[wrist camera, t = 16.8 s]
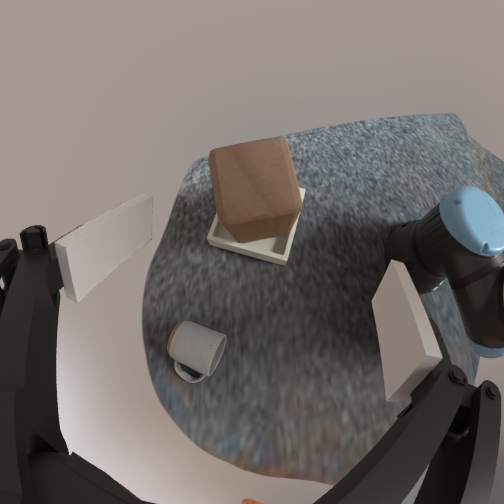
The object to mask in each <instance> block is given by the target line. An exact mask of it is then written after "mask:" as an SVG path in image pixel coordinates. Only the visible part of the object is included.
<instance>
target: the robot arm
mask: <svg viewBox="0 0 504 504" xmlns="http://www.w3.org/2000/svg"><path fill="white" fill-rule="evenodd" d="M152 208H153V195H149V194H144V193H141V194H139V195H137V196H135V197H133V198H131V199H129V200H127V201H125V202H123V203H121V204H119V205H118V206H116V207H114V208H112V209H110V210H108V211H107V212H105V213H103V214H101V215H99V216H98V217H96V218H94V219H92V220H90V221H89V222H87V223H85V224H83V225H80V226H79V227H77V228H75V229H74V230H73V231H71V232H69V233H67V234H65V235H64V236H62V237H60V238H59V239H57V240H56V241H54V242H53V243H51V244H50V245H48V240H47V233H46V228H45V227H44V226H41V225H35V226H30V227H28V228H26V229H24V230H23V231H22V232H21V233H20V238H21V243H22V248H23V250H19V249H18V248H17V243H16V240H14V239H4V240H2V241H1V242H0V278H1V277H2V279H3V282H4V285H5V286H4V288H3V289H2V288H1V286H0V504H155V503H150V502H146V501H142V500H140V499H139V498H138V497H136V496H135V495H134V494H132V493H131V492H130V491H129V490H127V489H126V488H125V487H124V486H122V485H121V484H119V483H118V482H117V481H115V480H114V479H113V478H112V477H110V476H109V475H108V474H106V473H105V472H104V471H102V470H101V469H99V468H97V467H96V466H94V465H92V464H91V463H89V462H87V461H86V460H85V459H83V458H82V457H80V456H78V455H77V454H76V453H74V452H72V454H71V455H69V452H68V448H67V445H66V442H65V440H64V438H63V436H62V433H61V430H60V425H59V416H58V403H57V387H56V386H57V384H56V347H57V327H58V314H59V305H60V293H59V290H60V289H61V288H62V287H63V286H64V289H65V293H66V296H67V298H69V299H71V300H73V301H75V302H77V303H78V302H79V301H81V300H82V299H83V298H84V297H85V296H86V295H87V294H88V293H89V292H90V291H91V290H93V289H94V288H95V287H96V286H97V285H98V284H99V283H100V282H102V281H103V280H104V279H105V278H106V277H107V276H108V275H110V274H111V273H112V272H113V271H114V270H115V269H116V268H118V267H119V266H120V265H121V264H122V263H124V262H125V261H126V260H127V259H128V258H130V257H131V256H132V255H133V254H134V253H136V251H138V250H139V249H140V248H142V247H143V246H144V245H145V244H147V243H148V242H149V241H150V240H152ZM385 260H386V265H387V270H386V273H385V275H384V277H383V279H382V281H381V283H380V285H379V287H378V289H377V291H376V293H375V295H374V297H373V299H372V301H371V302H372V307H373V312H374V317H375V322H376V328H377V334H378V340H379V346H380V353H381V359H382V367H383V375H384V383H385V393H386V401H388V402H397V403H402V402H403V401H404V400H405V399H406V398H407V397H408V396H409V395H410V394H411V400H412V402H411V403H410V404H409V405H408V406H407V407H406V408H405V409H404V410H403V411H402V412H401V413H400V414H399V415H398V416H397V417H398V419H397V420H396V422H395V423H394V424H393V425H392V427H391V428H390V429H389V430H388V431H387V433H386V434H385V435H384V436H383V437H382V438H381V440H380V441H379V442H378V443H377V444H376V445H375V446H374V447H373V449H372V450H371V451H370V452H369V453H368V454H367V455H366V456H365V457H364V458H363V459H362V460H361V461H360V462H359V463H358V464H357V465H356V466H355V467H354V468H353V469H352V470H351V471H350V472H349V473H348V474H347V475H346V476H345V477H344V478H343V479H342V480H341V481H339V482H338V483H337V484H336V485H335V486H334V487H333V488H332V489H330V490H329V491H328V492H327V493H326V494H325V495H323V496H322V497H321V498H320V499H318V500H317V501H316V502H315V503H313V504H401V503H402V502H403V500H404V499H405V498H406V496H407V495H408V494H409V492H410V491H411V489H412V488H413V487H414V485H415V484H416V483H417V481H418V480H419V478H420V477H421V475H422V474H423V472H424V471H425V469H426V468H427V466H428V464H429V463H430V464H429V467H428V470H427V472H426V475H425V478H424V480H423V483H422V485H421V488H420V490H419V493H418V495H417V497H416V499H415V502H414V504H488V502H489V498H490V494H491V489H492V485H493V480H494V475H495V469H496V463H497V456H498V448H499V438H500V425H501V423H500V422H501V394H500V392H499V389H498V387H497V386H496V385H495V384H494V383H493V382H491V381H488V380H486V381H484V382H483V383H482V384H481V385H480V386H479V387H478V388H477V387H475V386H473V385H470V384H468V380H467V376H466V375H465V373H464V372H463V370H462V369H461V368H459V367H458V366H456V365H453V364H452V363H451V361H450V358H449V355H448V352H447V349H446V346H445V344H444V343H443V342H444V341H443V338H442V337H441V333H440V331H439V328H438V326H437V325H436V324H435V322H434V321H433V320H432V318H428V316H427V314H426V312H425V309H424V307H423V304H422V302H421V300H420V297H419V295H423V294H426V293H429V292H432V291H434V290H435V289H437V288H438V287H439V286H440V285H441V284H442V282H443V281H444V279H445V278H447V279H448V281H449V284H450V286H451V289H452V291H453V294H454V297H455V300H456V302H457V305H458V308H459V311H460V314H461V317H462V320H463V323H464V327H465V330H466V335H467V337H468V339H469V340H470V343H471V346H472V348H473V350H474V352H475V353H476V354H478V355H479V356H481V357H485V358H497V357H502V356H504V215H503V213H502V211H501V209H500V208H499V206H498V205H497V203H496V202H495V201H494V200H493V199H492V198H491V197H490V196H489V195H488V194H487V193H486V192H484V191H481V190H480V189H479V188H477V187H474V186H462V187H459V188H457V189H456V190H455V191H453V192H452V193H451V194H448V195H446V196H445V197H444V198H443V200H442V201H441V202H440V203H439V204H438V205H437V206H436V207H434V208H433V209H432V210H431V211H430V212H429V213H428V214H426V215H425V216H424V217H423V218H422V219H420V220H414V221H409V222H406V223H403V224H402V225H400V226H399V227H398V228H396V229H395V230H394V231H393V232H392V233H391V235H390V236H389V238H388V241H387V243H386V248H385ZM467 432H468V433H467Z"/></svg>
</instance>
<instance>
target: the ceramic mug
mask: <svg viewBox="0 0 504 504" xmlns="http://www.w3.org/2000/svg"><path fill="white" fill-rule="evenodd" d="M226 340H227V337H226V335H225V334H222V333H219V332H217V331H214V330H211V329H209V328H206V327H204V326H201V325H199V324H196V323H194V322H191V321H186V320H184V321H181V322H179V323H178V324H177V325H176V326H175V328H174V329H173V331H172V333H171V335H170V337H169V341H168V345H167V351H168V354H169V355H170V356H171V357H172V358H173V359H175V364H174V365H175V370H176V372H177V373H178V375H179V376H180V377H181V378H183V379H184V380H186V381H188V382H191V383H197V382H199V381H201V380H202V379H203V378H204V377H205V376H210V375H211V374H212V373H213V372H214V370H215V369H216V367H217V365H218V363H219V360H220V358H221V356H222V353H223V351H224V348H225V345H226ZM180 363H182V364H184V365H186V366H188V367H190V368H192V369H194V370H196V371H197V372H199V373H201V374H203V376H201V377H200V378H196V377H192V376H191V375H189V374H187V373H186V372H185V371H183V370H182V369H181V367H180Z"/></svg>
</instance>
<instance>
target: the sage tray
mask: <svg viewBox="0 0 504 504" xmlns="http://www.w3.org/2000/svg"><path fill="white" fill-rule="evenodd" d="M299 190H300V194H301V199H302V202H303V198H304V194H305V190H306V189H303V188H299ZM299 214H300V213H299ZM298 218H299V215H298V217H297V219H296V221H295V223H294V225H293V227H292V229H291V231H290V233H289V234H287V235H283V236H278V237H273V238H268V239H262V240H257V241H252V242H246V243H239V242H237V240H236V239H235V238H234V237H233V236H232V235H231V234H230V233H229V232H228V231H227V230H226V229H225V228H224V227H223V226H222V224H221V223H220V221H219V220H218V216H217V212H216V215H215V218H214V220H213V223H212V226H211V228H210V231H209V234H208V236H207V240H208V242H209V244H210V245H212V246H215V247H219V248H223V249H226V250H230V251H233V252H237V253H240V254H244V255H247V256H251V257H255V258H258V259H262V260H265V261H269V262H273V263H276V264H280V265H283V266H286V263H287V260H288V256H289V252H290V249H291V245H292V241H293V237H294V234H295V230H296V226H297V222H298Z"/></svg>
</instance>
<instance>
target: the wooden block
mask: <svg viewBox="0 0 504 504" xmlns="http://www.w3.org/2000/svg"><path fill="white" fill-rule="evenodd" d="M209 165H210V172H211V178H212V185H213V191H214V197H215V204H216V210H217V216H218V220H219V221H220V223H221V224H222V226H223V227H224V228H225V229H226V230H227V231H228V232H229V233H230V234H231V235H232V236H233V237H234V238H235V239H236V240H237V242H239V243H246V242H252V241H257V240H262V239H268V238H273V237H278V236H283V235H287V234H289V233H290V231H291V229H292V227H293V225H294V223H295V221H296V219H297V217H298V215H299V213H300V211H301V208H302V199H301V194H300V190H299V186H298V182H297V178H296V174H295V170H294V166H293V162H292V158H291V154H290V150H289V146H288V143H287V142H286V140H285V139H284V137H274V138H268V139H262V140H256V141H251V142H246V143H240V144H235V145H230V146H226V147H221V148H217V149H214V150H212V151H210V155H209Z"/></svg>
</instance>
